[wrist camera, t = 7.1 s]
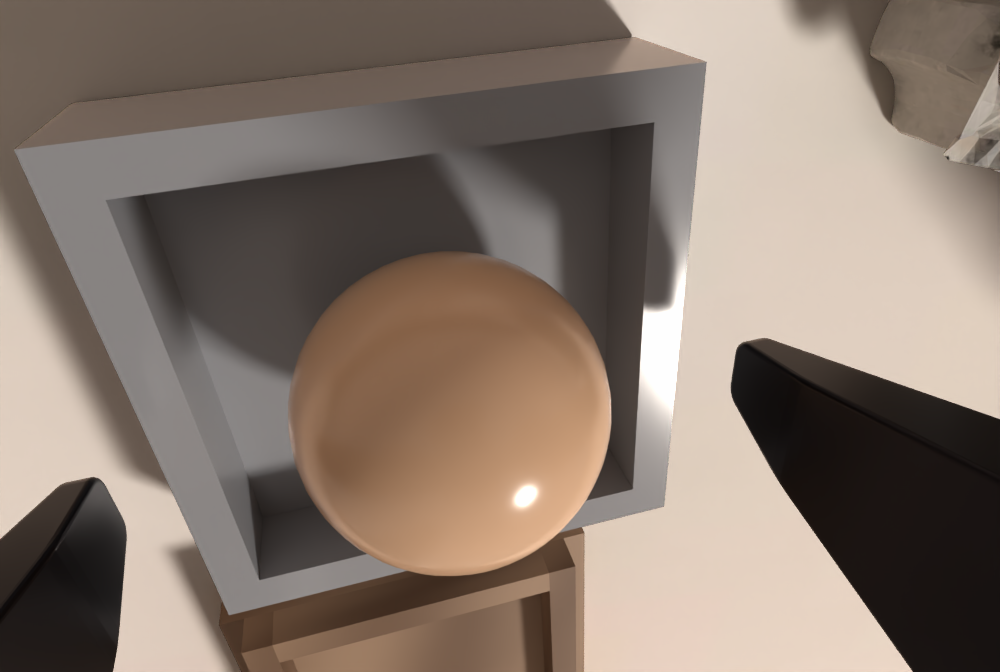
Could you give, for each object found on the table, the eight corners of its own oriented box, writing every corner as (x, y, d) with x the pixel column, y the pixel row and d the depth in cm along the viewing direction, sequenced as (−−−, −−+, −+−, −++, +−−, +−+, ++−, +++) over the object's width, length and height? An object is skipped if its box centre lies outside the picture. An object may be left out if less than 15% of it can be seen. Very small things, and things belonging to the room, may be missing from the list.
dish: (634, 37, 11) (706, 61, 9) (619, 434, 15) (664, 506, 13) (72, 103, 9) (13, 150, 7) (238, 520, 14) (229, 615, 12)
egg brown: (537, 182, 11) (690, 315, 7) (545, 403, 13) (662, 587, 10) (246, 234, 10) (248, 421, 6) (313, 463, 12) (344, 696, 9)
